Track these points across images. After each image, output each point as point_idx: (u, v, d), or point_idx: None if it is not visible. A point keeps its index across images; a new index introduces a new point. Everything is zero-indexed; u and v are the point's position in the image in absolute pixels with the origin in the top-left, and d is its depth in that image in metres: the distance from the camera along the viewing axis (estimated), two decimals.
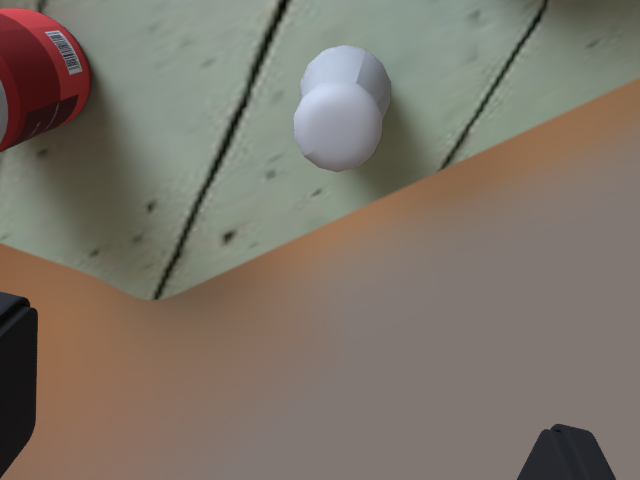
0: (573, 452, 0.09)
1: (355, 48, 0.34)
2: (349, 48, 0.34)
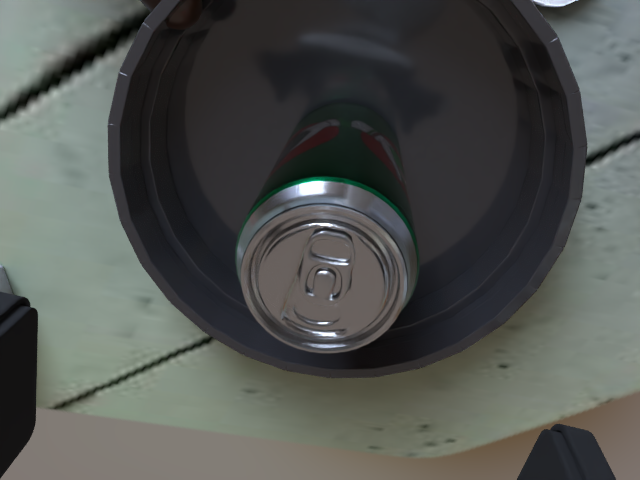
0: (573, 452, 0.09)
1: None
2: None
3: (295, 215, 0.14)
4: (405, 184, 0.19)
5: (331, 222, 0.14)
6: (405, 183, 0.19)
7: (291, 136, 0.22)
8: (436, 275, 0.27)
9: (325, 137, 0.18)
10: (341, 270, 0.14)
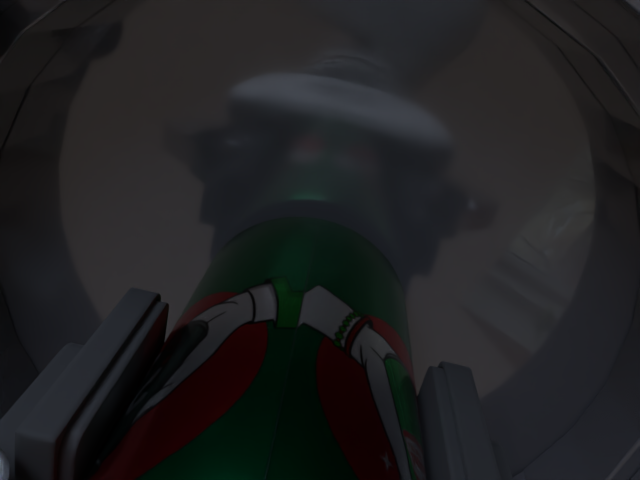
0: (448, 382, 0.10)
1: None
2: None
3: None
4: None
5: None
6: (422, 475, 0.08)
7: (190, 302, 0.11)
8: None
9: (224, 387, 0.07)
10: None
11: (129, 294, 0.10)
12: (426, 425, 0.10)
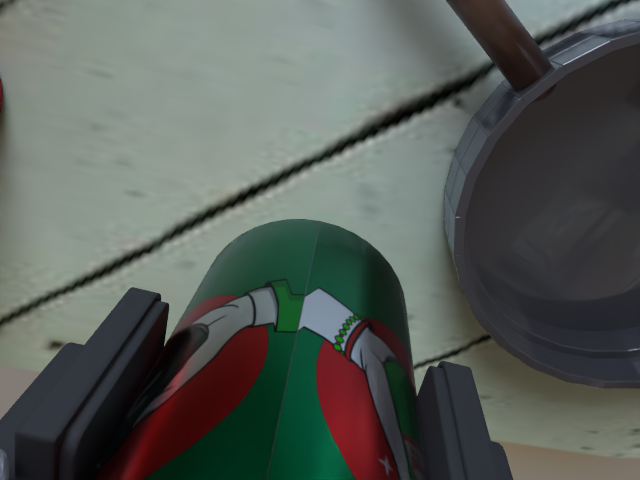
0: (448, 383, 0.10)
1: None
2: None
3: None
4: None
5: None
6: (422, 479, 0.08)
7: (190, 305, 0.11)
8: None
9: (225, 392, 0.07)
10: None
11: (129, 294, 0.10)
12: (426, 425, 0.10)
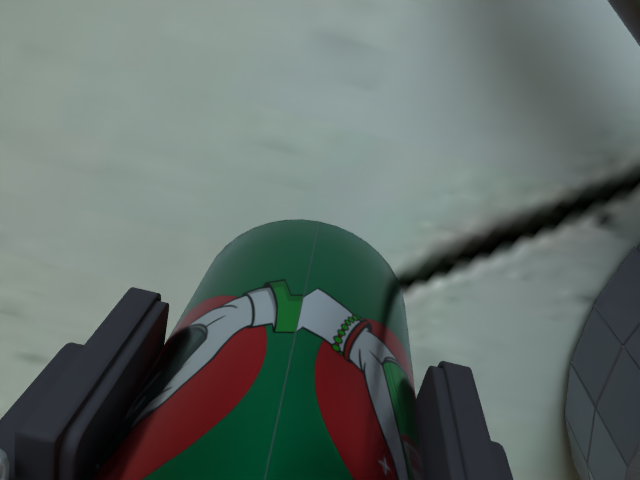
0: (448, 383, 0.10)
1: None
2: None
3: None
4: None
5: None
6: (420, 479, 0.08)
7: (189, 306, 0.11)
8: None
9: (223, 392, 0.07)
10: None
11: (129, 294, 0.10)
12: (426, 425, 0.10)
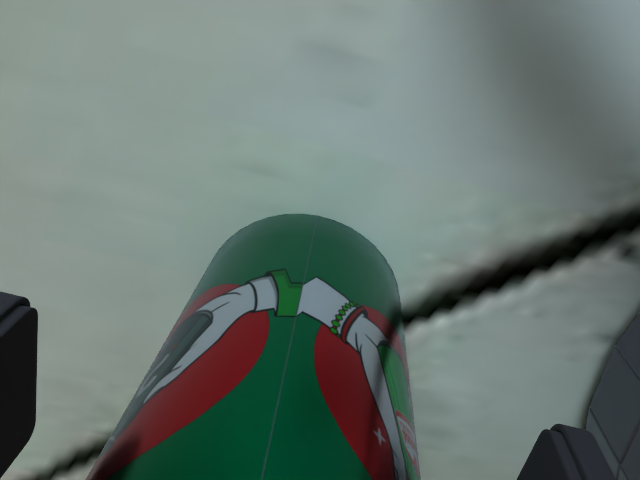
0: (573, 452, 0.09)
1: None
2: None
3: None
4: (413, 464, 0.08)
5: None
6: (413, 452, 0.09)
7: (194, 295, 0.12)
8: None
9: (229, 369, 0.08)
10: None
11: None
12: None
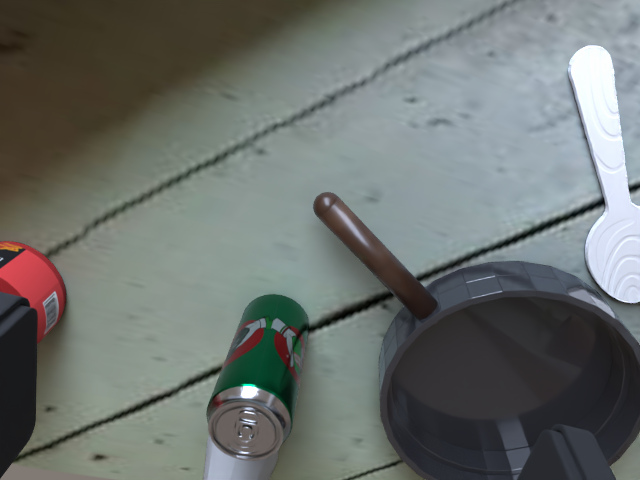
0: (573, 452, 0.09)
1: None
2: None
3: (231, 405, 0.31)
4: (297, 363, 0.36)
5: (248, 407, 0.31)
6: (297, 361, 0.36)
7: (242, 322, 0.39)
8: None
9: (254, 341, 0.36)
10: (253, 427, 0.32)
11: None
12: None
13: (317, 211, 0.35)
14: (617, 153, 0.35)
